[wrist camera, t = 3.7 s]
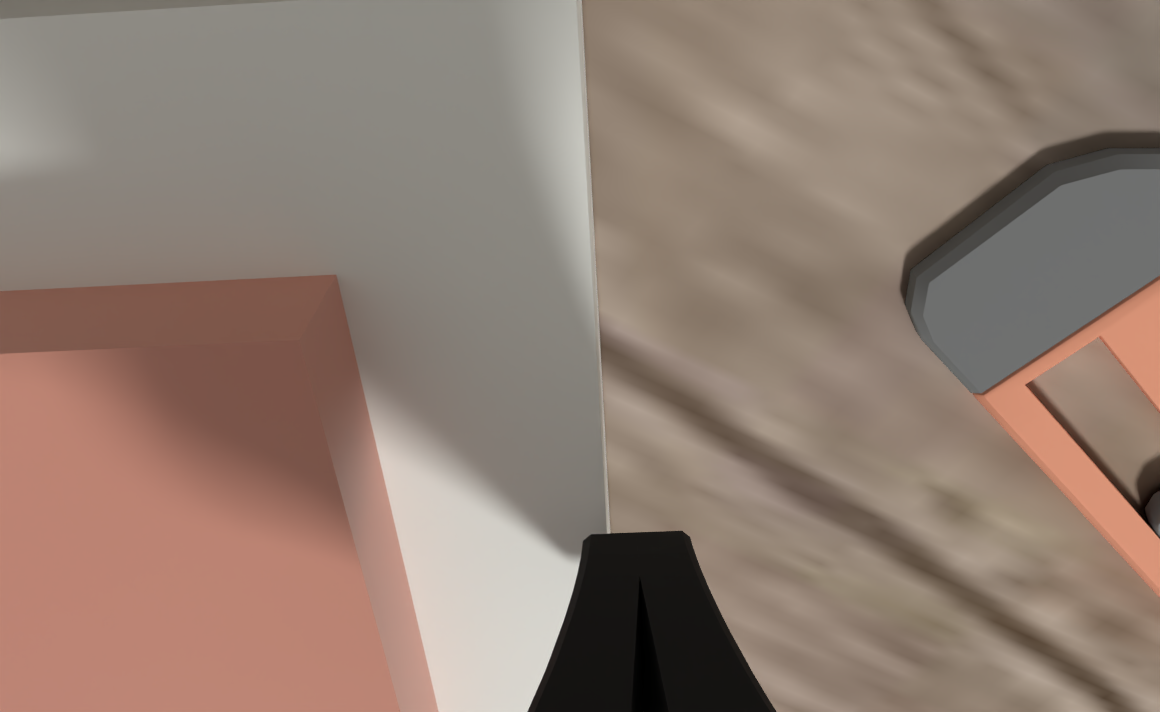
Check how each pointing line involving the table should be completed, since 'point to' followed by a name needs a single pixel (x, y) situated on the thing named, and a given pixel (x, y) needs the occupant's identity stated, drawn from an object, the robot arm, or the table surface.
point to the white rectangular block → (358, 251)
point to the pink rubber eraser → (196, 506)
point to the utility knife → (1056, 314)
